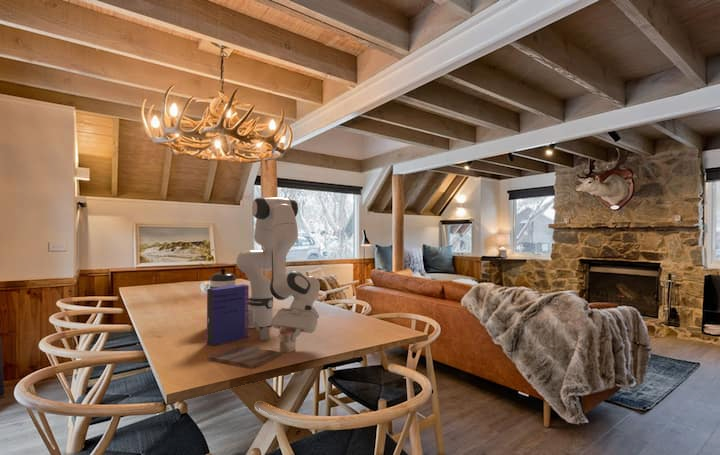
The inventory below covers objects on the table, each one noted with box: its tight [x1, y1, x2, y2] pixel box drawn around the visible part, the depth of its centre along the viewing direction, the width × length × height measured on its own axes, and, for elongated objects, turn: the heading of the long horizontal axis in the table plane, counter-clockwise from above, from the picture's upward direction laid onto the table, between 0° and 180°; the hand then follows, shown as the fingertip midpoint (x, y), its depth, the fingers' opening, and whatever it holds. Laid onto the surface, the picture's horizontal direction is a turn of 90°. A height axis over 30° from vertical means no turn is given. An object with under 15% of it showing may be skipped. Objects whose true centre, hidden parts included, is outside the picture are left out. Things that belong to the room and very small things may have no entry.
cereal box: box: [206, 284, 250, 347], centre depth 165 cm, size 17×5×24 cm, turn 141°
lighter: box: [253, 322, 271, 341], centre depth 167 cm, size 7×2×8 cm, turn 103°
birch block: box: [279, 329, 297, 354], centre depth 152 cm, size 4×4×8 cm
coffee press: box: [209, 267, 237, 289], centre depth 190 cm, size 17×16×30 cm
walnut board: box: [206, 344, 282, 369], centre depth 143 cm, size 22×16×1 cm
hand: (286, 338), depth 151 cm, fingers closed on birch block, 4 cm apart
